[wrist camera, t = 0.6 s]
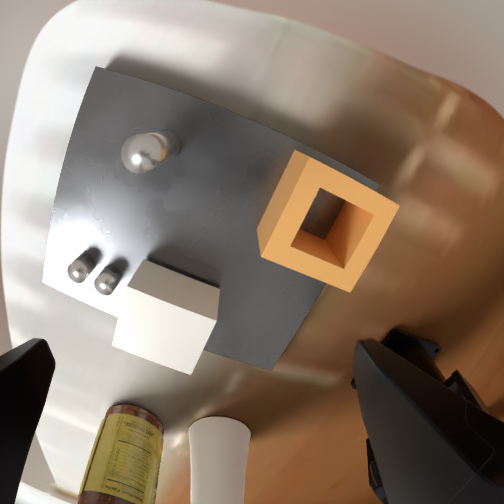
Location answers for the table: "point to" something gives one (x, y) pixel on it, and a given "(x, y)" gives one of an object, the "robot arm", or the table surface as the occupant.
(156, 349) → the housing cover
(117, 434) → the sauce bottle
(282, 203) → the orange hollow square block
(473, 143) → the table surface
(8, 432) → the robot arm
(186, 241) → the base plate
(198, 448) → the cosmetic bottle
